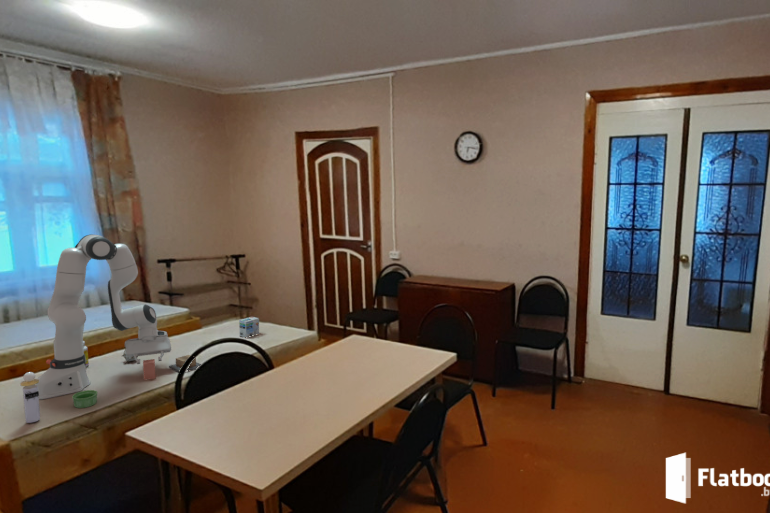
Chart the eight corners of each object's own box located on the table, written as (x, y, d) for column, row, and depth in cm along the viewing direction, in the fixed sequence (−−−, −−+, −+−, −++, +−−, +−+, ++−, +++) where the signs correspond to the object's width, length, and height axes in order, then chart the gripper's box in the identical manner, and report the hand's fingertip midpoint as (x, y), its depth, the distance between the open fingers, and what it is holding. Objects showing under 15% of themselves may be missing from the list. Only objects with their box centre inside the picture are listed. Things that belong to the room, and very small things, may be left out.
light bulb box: (246, 338, 292) (246, 321, 291) (239, 336, 296) (238, 319, 295) (259, 334, 301) (259, 317, 300) (252, 332, 305) (252, 316, 304)
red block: (143, 379, 227) (143, 363, 226) (144, 376, 231) (143, 360, 230) (155, 378, 229) (154, 362, 228) (155, 374, 233) (154, 359, 232)
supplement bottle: (91, 365, 244) (90, 341, 242) (78, 369, 238) (76, 345, 236) (83, 363, 247) (81, 339, 245) (70, 367, 241) (68, 343, 239)
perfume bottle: (22, 421, 184) (17, 372, 182) (40, 416, 188) (36, 368, 186) (25, 426, 180) (21, 376, 178) (44, 421, 185) (39, 372, 182)
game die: (127, 368, 250) (114, 354, 249) (140, 358, 257) (127, 344, 256) (134, 363, 246) (121, 349, 244) (147, 353, 252) (134, 339, 251)
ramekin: (101, 404, 201) (100, 394, 200) (76, 411, 194) (76, 400, 194) (94, 397, 207) (93, 388, 206) (70, 404, 200) (69, 394, 199)
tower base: (180, 373, 235) (180, 363, 234) (168, 367, 242) (168, 358, 242) (203, 367, 244) (203, 357, 244) (191, 361, 252) (190, 352, 251)
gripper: (124, 336, 232) (124, 362, 224) (170, 331, 241) (171, 356, 233) (125, 342, 236) (125, 368, 229) (170, 337, 245) (172, 361, 238)
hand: (149, 362), depth 231 cm, fingers open, 8 cm apart
